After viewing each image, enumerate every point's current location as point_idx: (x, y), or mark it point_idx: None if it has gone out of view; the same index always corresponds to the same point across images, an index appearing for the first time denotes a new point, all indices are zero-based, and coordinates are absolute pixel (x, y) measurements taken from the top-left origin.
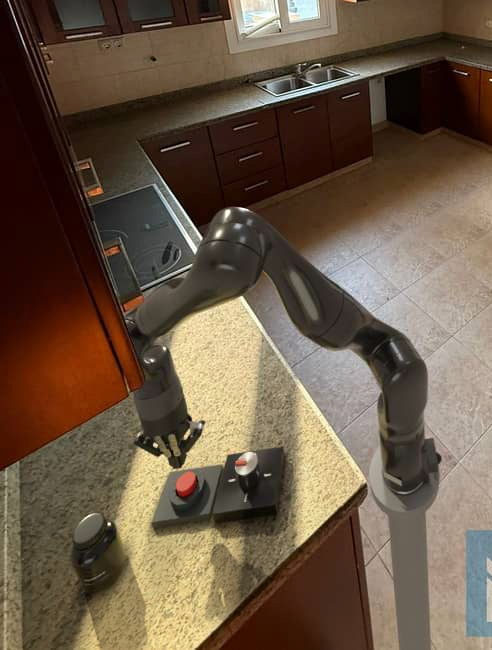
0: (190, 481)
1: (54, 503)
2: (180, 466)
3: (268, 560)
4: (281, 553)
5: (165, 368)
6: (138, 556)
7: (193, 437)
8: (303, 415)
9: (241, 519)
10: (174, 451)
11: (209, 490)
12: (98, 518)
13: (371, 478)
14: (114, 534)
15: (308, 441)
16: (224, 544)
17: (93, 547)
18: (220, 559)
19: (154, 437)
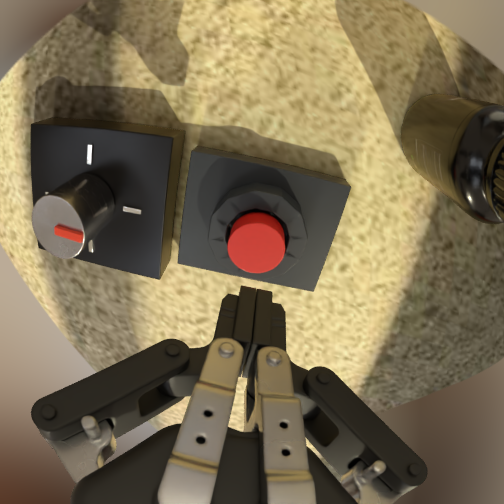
0: (240, 243)
1: (499, 302)
2: (240, 291)
3: (66, 36)
4: (45, 46)
5: None
6: (373, 130)
7: (82, 409)
8: (44, 295)
9: (120, 122)
10: (233, 369)
11: (200, 210)
12: None
13: None
14: (457, 154)
15: (23, 244)
16: (157, 79)
17: None
18: (164, 50)
19: (319, 498)
